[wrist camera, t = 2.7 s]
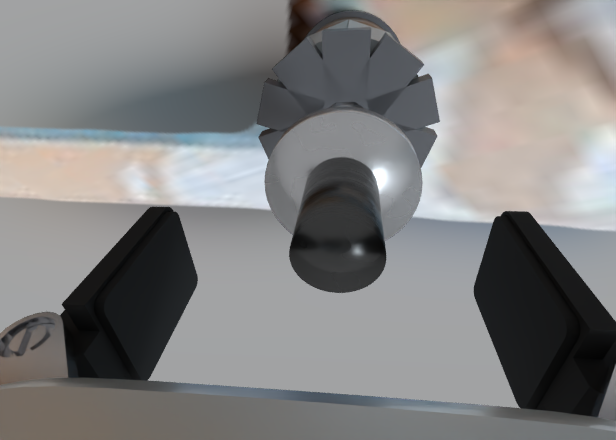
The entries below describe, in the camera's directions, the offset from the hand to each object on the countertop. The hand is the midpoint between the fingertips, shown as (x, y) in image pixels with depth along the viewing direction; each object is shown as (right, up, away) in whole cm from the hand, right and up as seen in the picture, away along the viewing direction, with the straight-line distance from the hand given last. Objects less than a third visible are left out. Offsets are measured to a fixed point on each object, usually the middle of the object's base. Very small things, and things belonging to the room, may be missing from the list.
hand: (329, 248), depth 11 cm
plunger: (+2, +7, +10) cm, 12 cm away
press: (+3, +14, +21) cm, 25 cm away
